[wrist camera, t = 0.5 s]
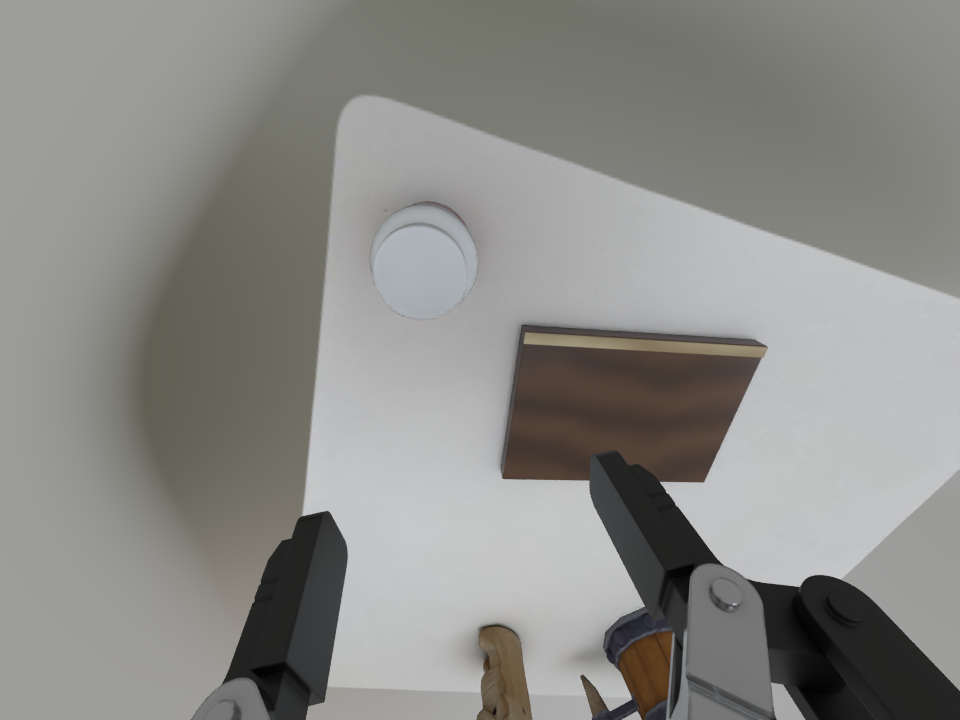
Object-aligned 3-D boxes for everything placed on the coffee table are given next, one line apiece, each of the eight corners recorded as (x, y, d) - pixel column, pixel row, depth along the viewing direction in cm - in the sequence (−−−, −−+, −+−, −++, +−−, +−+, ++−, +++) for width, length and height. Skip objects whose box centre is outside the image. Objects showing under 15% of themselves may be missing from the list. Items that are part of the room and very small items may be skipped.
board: (522, 324, 31) (525, 331, 30) (754, 339, 33) (768, 346, 32) (500, 468, 38) (502, 480, 36) (695, 472, 40) (704, 483, 39)
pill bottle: (415, 297, 29) (397, 353, 19) (374, 224, 27) (328, 246, 17) (484, 263, 29) (502, 303, 19) (448, 185, 26) (447, 183, 16)
